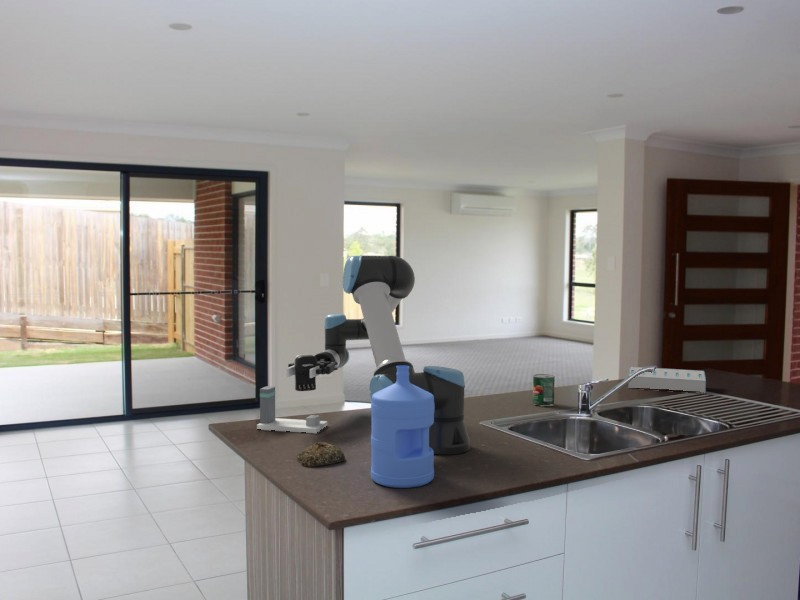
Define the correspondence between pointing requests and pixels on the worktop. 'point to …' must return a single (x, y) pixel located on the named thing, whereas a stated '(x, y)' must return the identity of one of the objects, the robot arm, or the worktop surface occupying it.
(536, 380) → the canned tomato
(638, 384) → the dotted white bar
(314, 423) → the mount
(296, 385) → the battery charger
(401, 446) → the water jug
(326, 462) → the bread roll
